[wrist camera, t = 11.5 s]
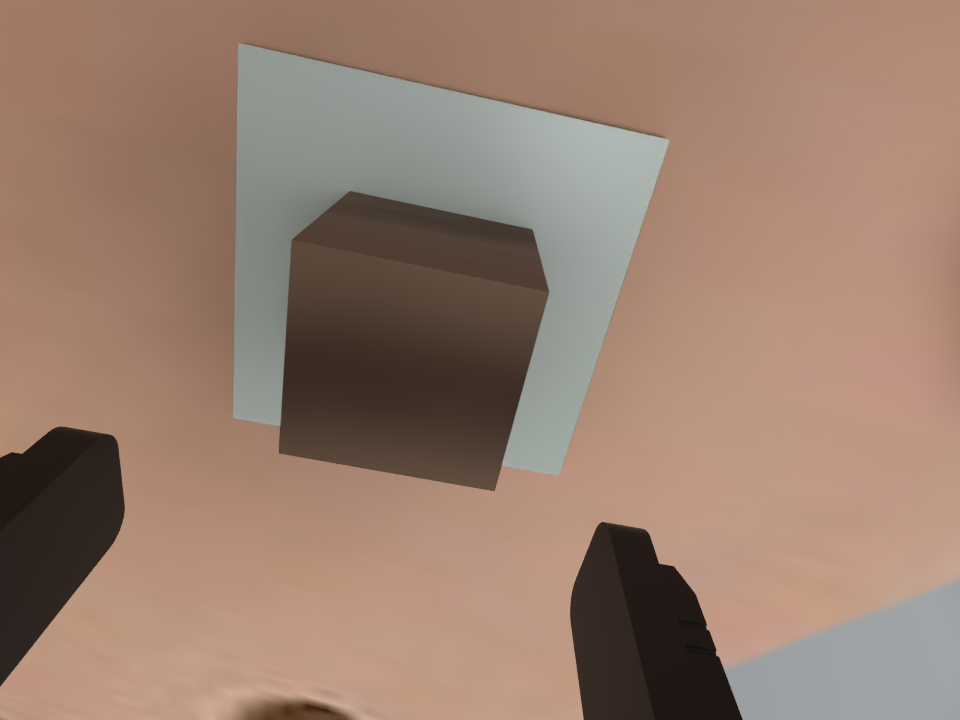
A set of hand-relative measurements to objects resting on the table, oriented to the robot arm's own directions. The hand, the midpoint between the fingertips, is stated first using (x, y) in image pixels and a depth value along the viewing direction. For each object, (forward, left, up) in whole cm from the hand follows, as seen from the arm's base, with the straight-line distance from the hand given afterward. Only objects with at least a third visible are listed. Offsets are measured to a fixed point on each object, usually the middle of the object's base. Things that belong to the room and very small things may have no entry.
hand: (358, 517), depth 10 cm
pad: (0, 0, -12) cm, 12 cm away
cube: (0, 0, -11) cm, 11 cm away
